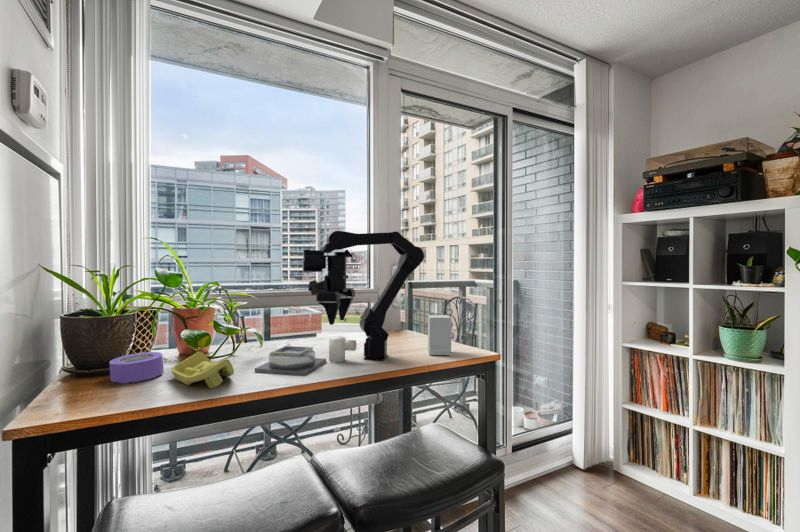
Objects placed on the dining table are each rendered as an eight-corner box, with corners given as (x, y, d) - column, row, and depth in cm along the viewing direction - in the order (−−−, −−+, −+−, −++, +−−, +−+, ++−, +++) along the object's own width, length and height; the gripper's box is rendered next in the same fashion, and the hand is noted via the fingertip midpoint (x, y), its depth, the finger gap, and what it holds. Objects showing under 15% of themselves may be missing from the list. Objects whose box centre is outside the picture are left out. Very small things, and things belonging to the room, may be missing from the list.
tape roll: (105, 386, 99) (104, 366, 99) (115, 373, 110) (114, 355, 110) (161, 378, 104) (160, 359, 104) (165, 367, 115) (164, 349, 115)
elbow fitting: (326, 362, 124) (326, 339, 124) (332, 358, 129) (332, 336, 129) (352, 363, 122) (352, 340, 122) (357, 359, 127) (357, 337, 127)
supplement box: (451, 356, 133) (451, 317, 133) (428, 356, 133) (429, 317, 133) (449, 351, 140) (449, 314, 140) (427, 351, 140) (427, 314, 140)
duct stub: (326, 362, 124) (326, 345, 124) (305, 375, 109) (305, 356, 109) (281, 359, 127) (281, 343, 127) (254, 372, 112) (254, 354, 112)
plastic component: (168, 369, 106) (204, 347, 112) (182, 392, 108) (217, 370, 114) (192, 380, 91) (231, 354, 98) (207, 406, 93) (245, 380, 100)
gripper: (323, 271, 136) (323, 317, 136) (299, 272, 118) (299, 326, 118) (355, 271, 134) (355, 318, 134) (335, 272, 116) (335, 327, 116)
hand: (336, 322), depth 125 cm, fingers open, 9 cm apart
